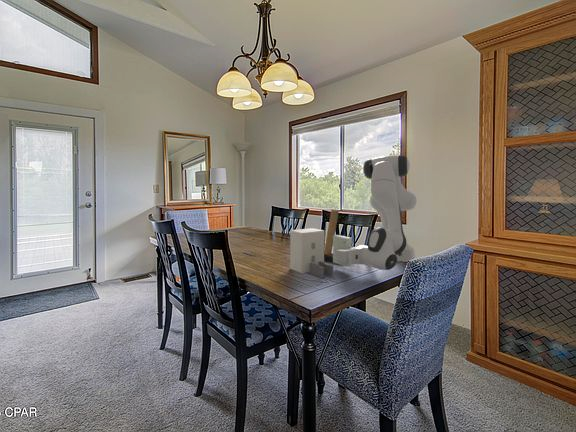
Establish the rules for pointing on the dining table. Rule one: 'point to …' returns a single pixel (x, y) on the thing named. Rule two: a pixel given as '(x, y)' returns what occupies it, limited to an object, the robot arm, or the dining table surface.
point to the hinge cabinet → (308, 252)
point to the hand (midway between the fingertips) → (343, 249)
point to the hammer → (330, 236)
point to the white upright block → (340, 243)
